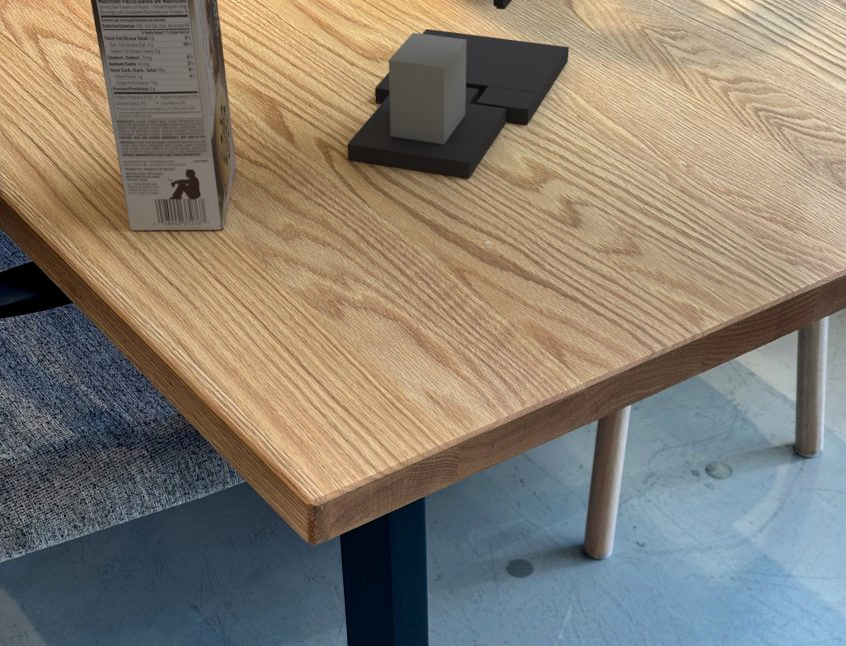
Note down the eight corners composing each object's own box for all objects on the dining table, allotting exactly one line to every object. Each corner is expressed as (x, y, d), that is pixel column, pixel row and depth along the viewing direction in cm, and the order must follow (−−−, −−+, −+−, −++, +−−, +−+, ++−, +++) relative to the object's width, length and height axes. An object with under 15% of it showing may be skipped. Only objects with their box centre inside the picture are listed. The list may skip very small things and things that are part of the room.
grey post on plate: (515, 109, 100) (519, 19, 95) (469, 178, 91) (470, 84, 87) (402, 93, 102) (401, 4, 97) (347, 159, 94) (343, 66, 89)
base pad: (567, 61, 106) (568, 46, 105) (527, 124, 98) (528, 109, 97) (426, 43, 109) (426, 28, 108) (375, 102, 101) (374, 87, 100)
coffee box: (147, 167, 93) (109, -72, 82) (238, 166, 93) (212, -73, 82) (126, 232, 86) (82, -19, 76) (225, 231, 86) (195, -20, 76)
